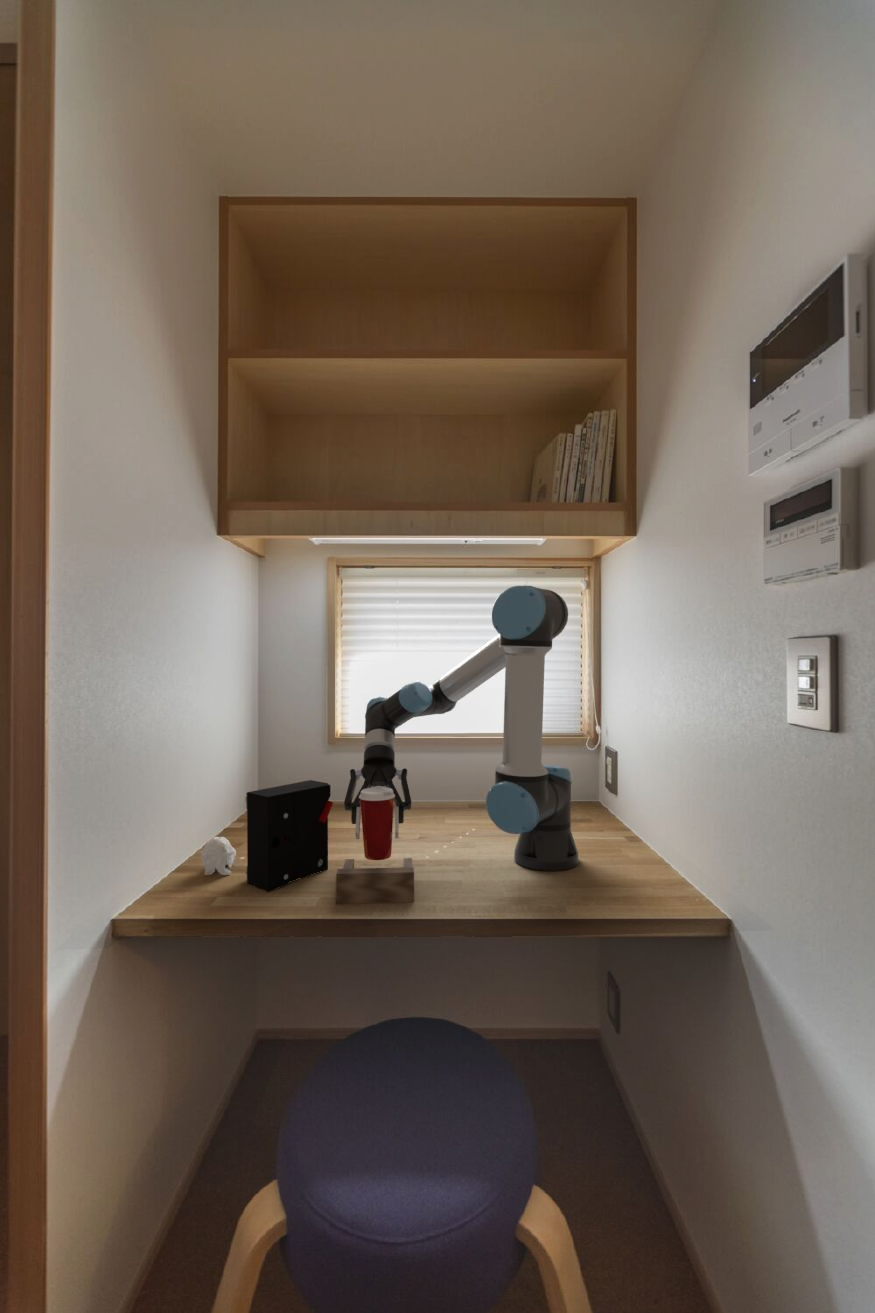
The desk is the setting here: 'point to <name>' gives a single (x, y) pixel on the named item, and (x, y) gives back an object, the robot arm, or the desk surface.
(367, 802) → the coffee cup
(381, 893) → the guide channel
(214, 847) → the white figurine
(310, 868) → the electrical component
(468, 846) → the desk surface
